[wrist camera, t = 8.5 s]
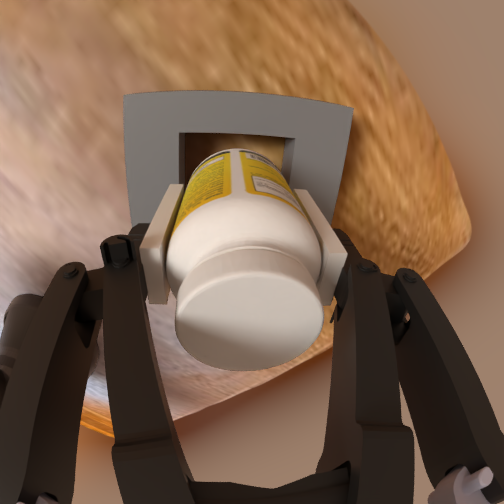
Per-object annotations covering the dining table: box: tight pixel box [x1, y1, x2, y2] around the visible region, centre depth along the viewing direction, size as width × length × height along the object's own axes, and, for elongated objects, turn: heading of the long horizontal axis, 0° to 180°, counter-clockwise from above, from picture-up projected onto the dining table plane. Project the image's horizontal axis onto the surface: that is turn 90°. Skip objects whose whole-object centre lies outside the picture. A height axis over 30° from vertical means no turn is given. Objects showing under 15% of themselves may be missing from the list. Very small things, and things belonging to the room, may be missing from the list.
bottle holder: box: [123, 90, 354, 228], centre depth 20 cm, size 13×15×3 cm
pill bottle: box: [166, 149, 324, 371], centre depth 13 cm, size 6×6×11 cm
